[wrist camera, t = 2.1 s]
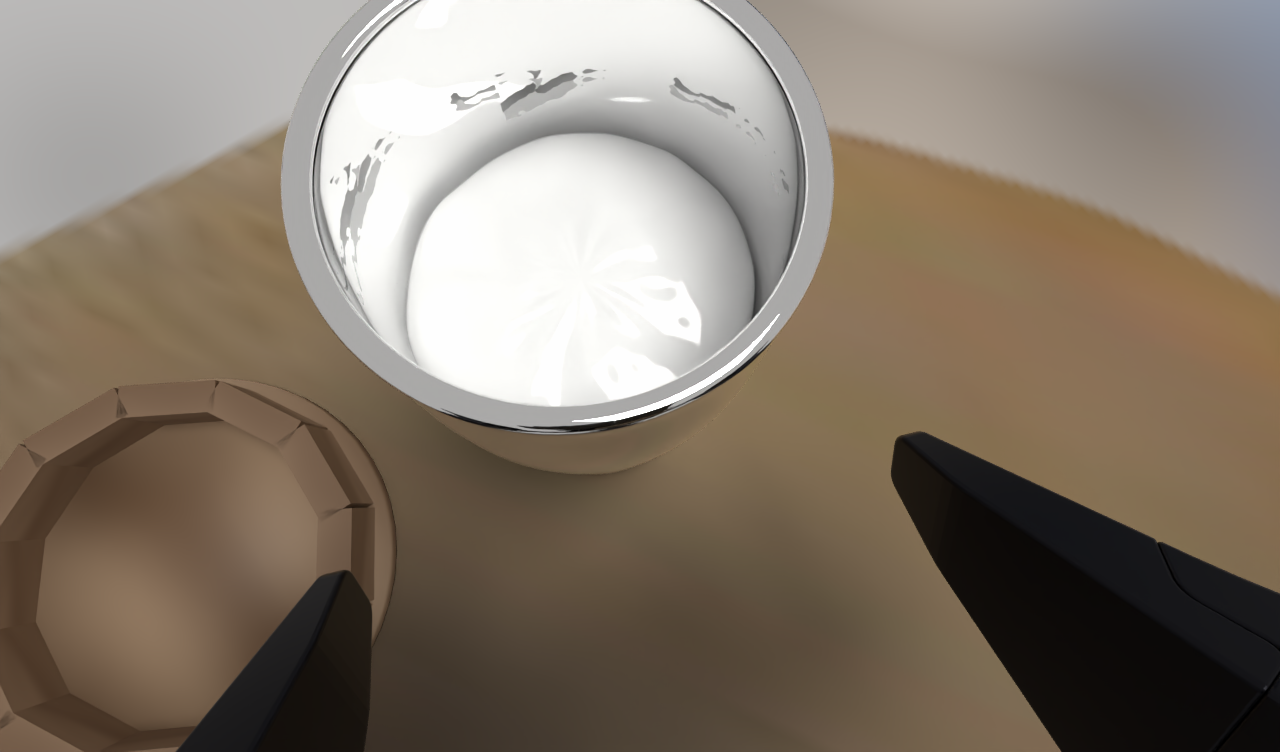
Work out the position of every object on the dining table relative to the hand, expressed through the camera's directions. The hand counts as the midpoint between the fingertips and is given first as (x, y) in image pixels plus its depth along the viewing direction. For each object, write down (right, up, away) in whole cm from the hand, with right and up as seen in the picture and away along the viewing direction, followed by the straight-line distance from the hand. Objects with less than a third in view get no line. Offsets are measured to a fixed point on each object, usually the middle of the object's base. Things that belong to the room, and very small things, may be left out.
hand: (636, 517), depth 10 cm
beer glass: (-1, +2, +12) cm, 12 cm away
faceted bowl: (-14, -4, +10) cm, 18 cm away
